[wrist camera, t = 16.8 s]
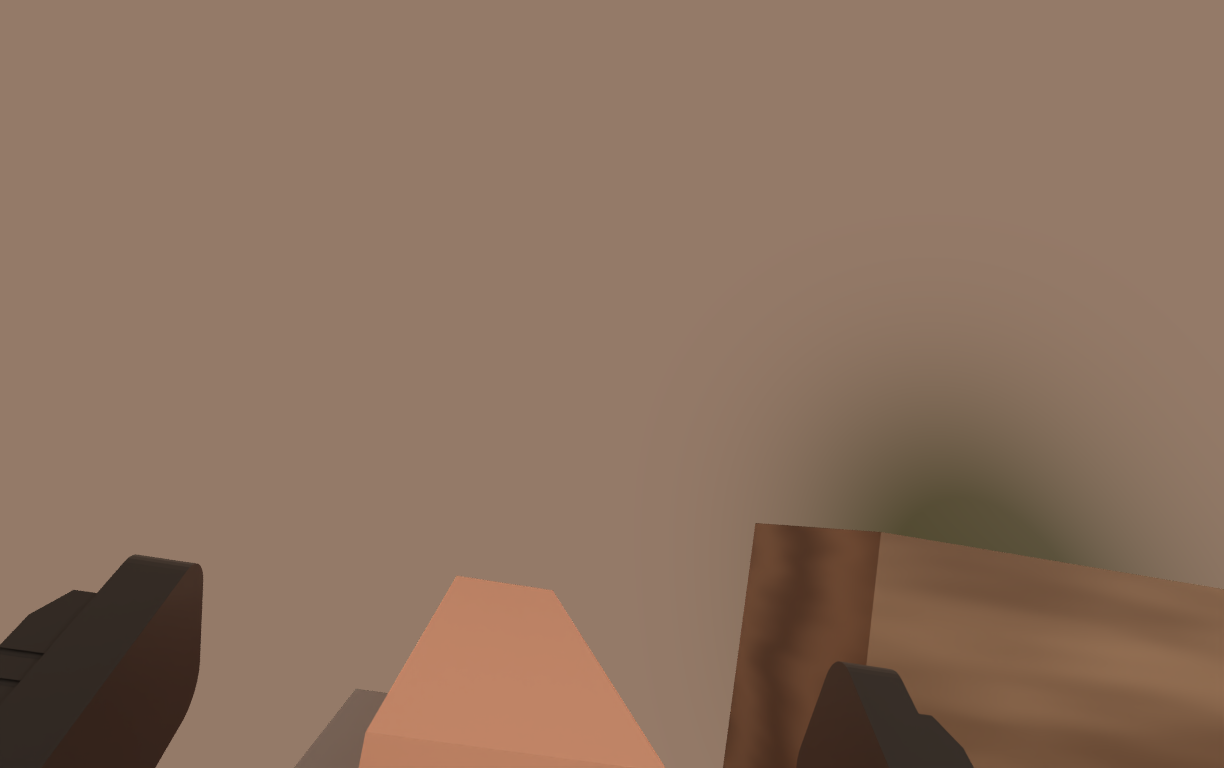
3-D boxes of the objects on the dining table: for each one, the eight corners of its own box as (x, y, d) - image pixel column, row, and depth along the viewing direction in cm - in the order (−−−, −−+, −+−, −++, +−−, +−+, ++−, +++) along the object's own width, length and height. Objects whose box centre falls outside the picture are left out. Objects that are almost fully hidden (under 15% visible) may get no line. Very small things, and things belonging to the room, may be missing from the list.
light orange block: (438, 675, 31) (456, 575, 31) (536, 689, 31) (552, 590, 32) (298, 1074, 9) (365, 732, 10) (621, 1103, 10) (667, 772, 10)
